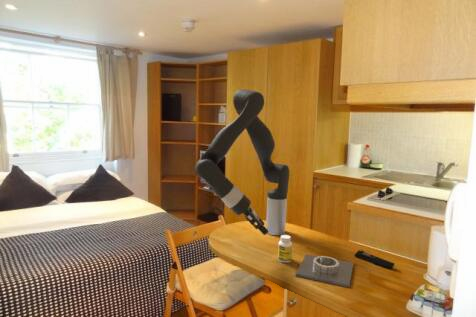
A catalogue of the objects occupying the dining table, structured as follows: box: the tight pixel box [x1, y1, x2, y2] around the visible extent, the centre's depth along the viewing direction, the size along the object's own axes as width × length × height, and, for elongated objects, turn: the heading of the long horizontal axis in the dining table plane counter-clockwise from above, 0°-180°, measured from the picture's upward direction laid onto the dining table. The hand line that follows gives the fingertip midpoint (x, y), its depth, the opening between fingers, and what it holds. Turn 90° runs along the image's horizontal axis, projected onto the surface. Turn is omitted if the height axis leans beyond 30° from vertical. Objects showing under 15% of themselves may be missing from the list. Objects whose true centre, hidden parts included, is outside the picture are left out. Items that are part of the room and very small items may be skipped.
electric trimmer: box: [354, 249, 395, 269], centre depth 130 cm, size 4×16×3 cm, turn 38°
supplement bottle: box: [277, 234, 293, 263], centre depth 129 cm, size 5×5×10 cm
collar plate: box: [295, 253, 354, 288], centre depth 121 cm, size 18×18×4 cm
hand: (264, 229), depth 127 cm, fingers open, 8 cm apart
